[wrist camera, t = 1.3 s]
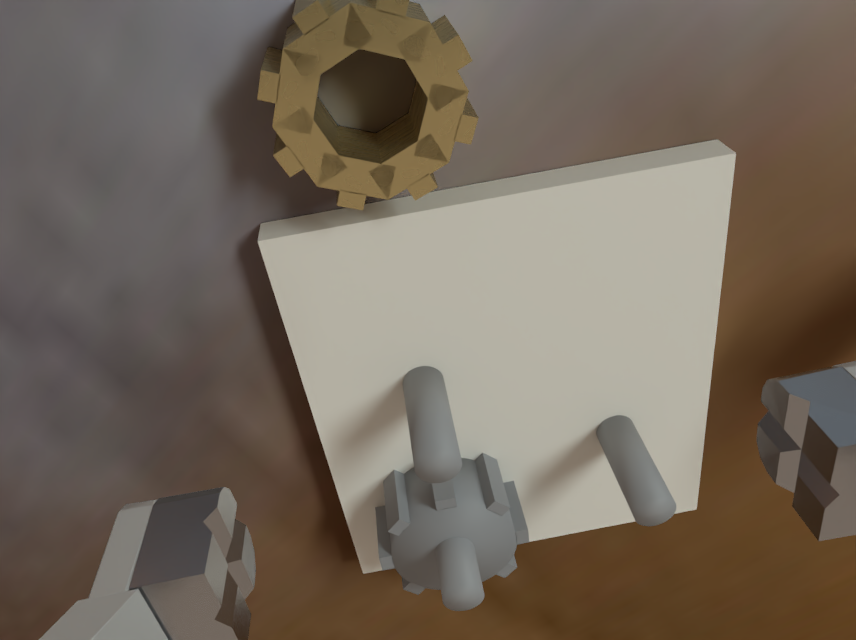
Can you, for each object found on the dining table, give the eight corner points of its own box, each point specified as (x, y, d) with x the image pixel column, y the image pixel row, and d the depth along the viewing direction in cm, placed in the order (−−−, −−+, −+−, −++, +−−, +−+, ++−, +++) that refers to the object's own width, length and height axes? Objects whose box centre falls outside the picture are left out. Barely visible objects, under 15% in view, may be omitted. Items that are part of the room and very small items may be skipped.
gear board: (260, 223, 27) (242, 325, 21) (717, 139, 27) (821, 217, 22) (362, 550, 38) (368, 674, 33) (684, 488, 39) (747, 600, 33)
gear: (222, 50, 24) (210, 74, 21) (397, -72, 22) (406, -63, 20) (341, 208, 27) (342, 245, 25) (497, 112, 26) (515, 140, 23)
